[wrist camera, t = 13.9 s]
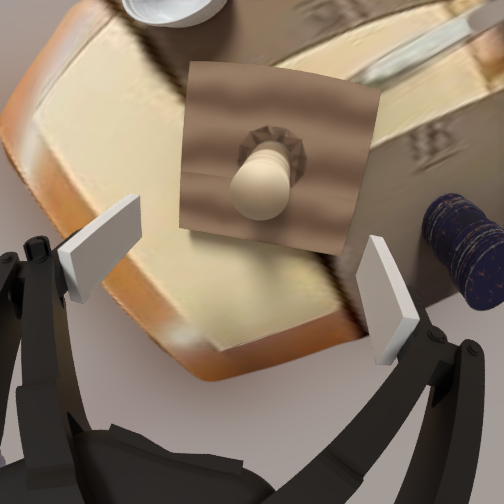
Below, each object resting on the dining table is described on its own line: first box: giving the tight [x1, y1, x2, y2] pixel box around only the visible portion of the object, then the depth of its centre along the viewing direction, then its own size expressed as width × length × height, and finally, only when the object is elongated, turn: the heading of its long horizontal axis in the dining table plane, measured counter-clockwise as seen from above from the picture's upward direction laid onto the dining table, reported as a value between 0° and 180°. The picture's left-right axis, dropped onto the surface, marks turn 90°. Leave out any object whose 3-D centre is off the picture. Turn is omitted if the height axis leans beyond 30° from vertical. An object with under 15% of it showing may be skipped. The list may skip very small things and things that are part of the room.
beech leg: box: [230, 140, 292, 220], centre depth 29 cm, size 5×5×16 cm
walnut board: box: [179, 61, 381, 256], centre depth 35 cm, size 22×22×4 cm
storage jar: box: [422, 193, 504, 311], centre depth 31 cm, size 10×10×15 cm
